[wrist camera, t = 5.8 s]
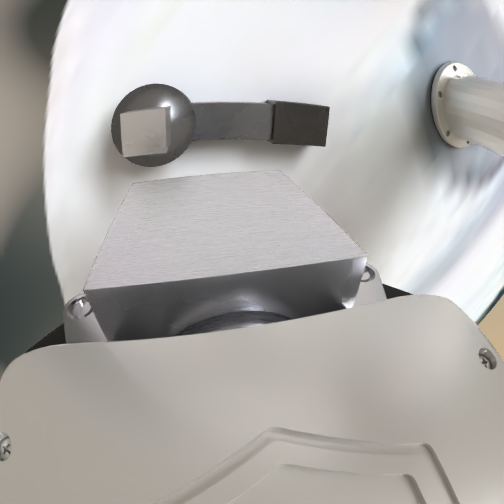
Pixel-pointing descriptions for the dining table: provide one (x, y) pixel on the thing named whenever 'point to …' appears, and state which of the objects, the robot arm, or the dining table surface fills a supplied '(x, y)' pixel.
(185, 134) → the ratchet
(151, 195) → the cube with metal dome
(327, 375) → the robot arm
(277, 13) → the dining table surface
